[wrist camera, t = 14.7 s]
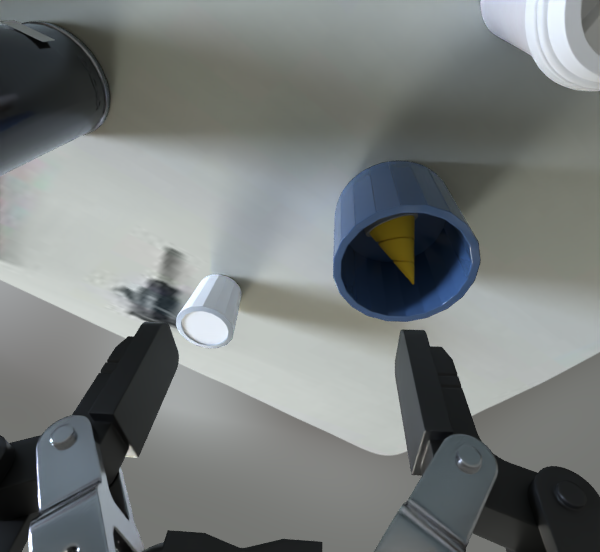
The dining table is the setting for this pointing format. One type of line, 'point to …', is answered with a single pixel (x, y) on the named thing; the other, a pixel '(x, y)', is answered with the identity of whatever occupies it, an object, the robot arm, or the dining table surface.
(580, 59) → the coffee cup
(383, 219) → the drill bit
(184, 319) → the white cylinder
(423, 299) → the cup
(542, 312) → the dining table surface
